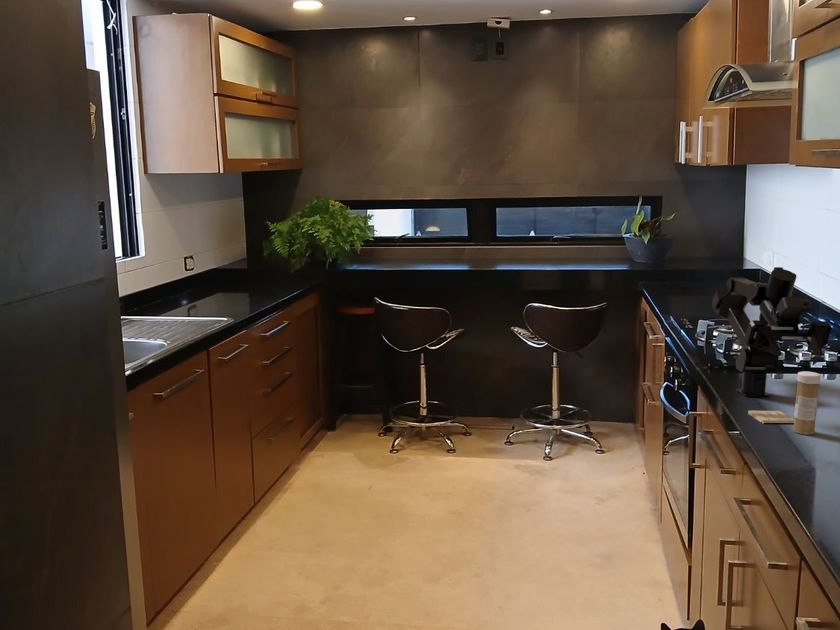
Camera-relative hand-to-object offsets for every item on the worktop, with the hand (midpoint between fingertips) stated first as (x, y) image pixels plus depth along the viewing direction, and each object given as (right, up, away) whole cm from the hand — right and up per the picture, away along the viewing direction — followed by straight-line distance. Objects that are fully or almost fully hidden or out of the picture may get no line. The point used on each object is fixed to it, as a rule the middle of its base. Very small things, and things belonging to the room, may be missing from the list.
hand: (800, 354), depth 190 cm
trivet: (-5, -15, +5) cm, 17 cm away
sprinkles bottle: (-2, -17, -5) cm, 18 cm away
